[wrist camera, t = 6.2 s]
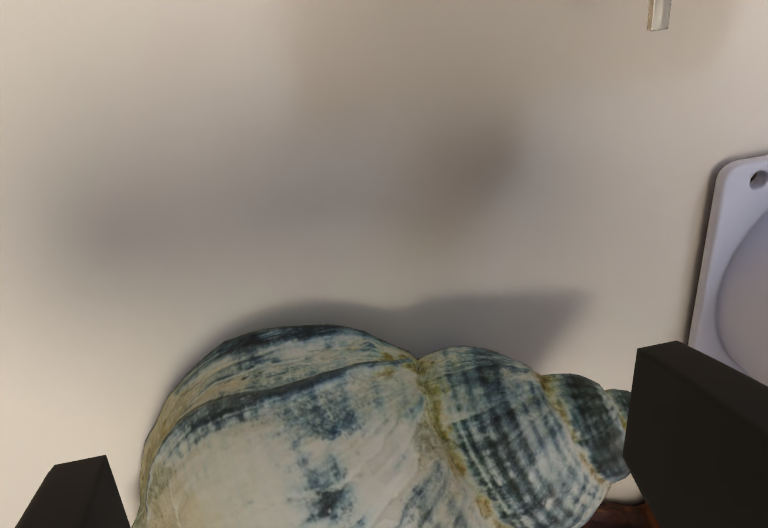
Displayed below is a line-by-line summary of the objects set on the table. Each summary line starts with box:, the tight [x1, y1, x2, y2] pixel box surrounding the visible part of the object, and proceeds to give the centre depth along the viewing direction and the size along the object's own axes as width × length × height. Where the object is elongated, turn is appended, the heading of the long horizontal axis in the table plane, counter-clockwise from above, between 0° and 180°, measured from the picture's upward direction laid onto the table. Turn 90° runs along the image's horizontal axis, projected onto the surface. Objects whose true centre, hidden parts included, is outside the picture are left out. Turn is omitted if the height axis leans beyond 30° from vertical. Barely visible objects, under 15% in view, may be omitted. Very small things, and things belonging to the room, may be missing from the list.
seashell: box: [132, 324, 631, 528], centre depth 18 cm, size 6×8×12 cm
